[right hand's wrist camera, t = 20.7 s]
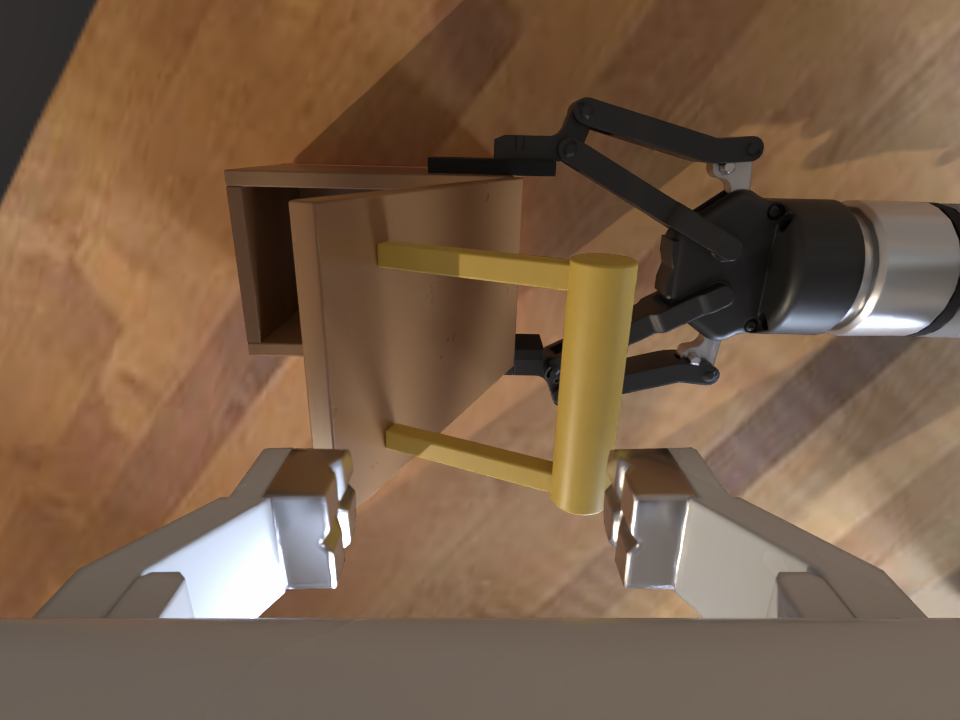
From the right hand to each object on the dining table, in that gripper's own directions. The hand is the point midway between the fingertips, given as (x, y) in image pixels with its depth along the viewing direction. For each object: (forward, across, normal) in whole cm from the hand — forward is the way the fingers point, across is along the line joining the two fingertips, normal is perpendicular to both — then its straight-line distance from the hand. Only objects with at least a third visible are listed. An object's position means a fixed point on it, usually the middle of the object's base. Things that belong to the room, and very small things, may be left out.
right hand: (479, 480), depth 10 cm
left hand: (+22, +3, 0) cm, 22 cm away
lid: (+12, +2, 0) cm, 12 cm away
